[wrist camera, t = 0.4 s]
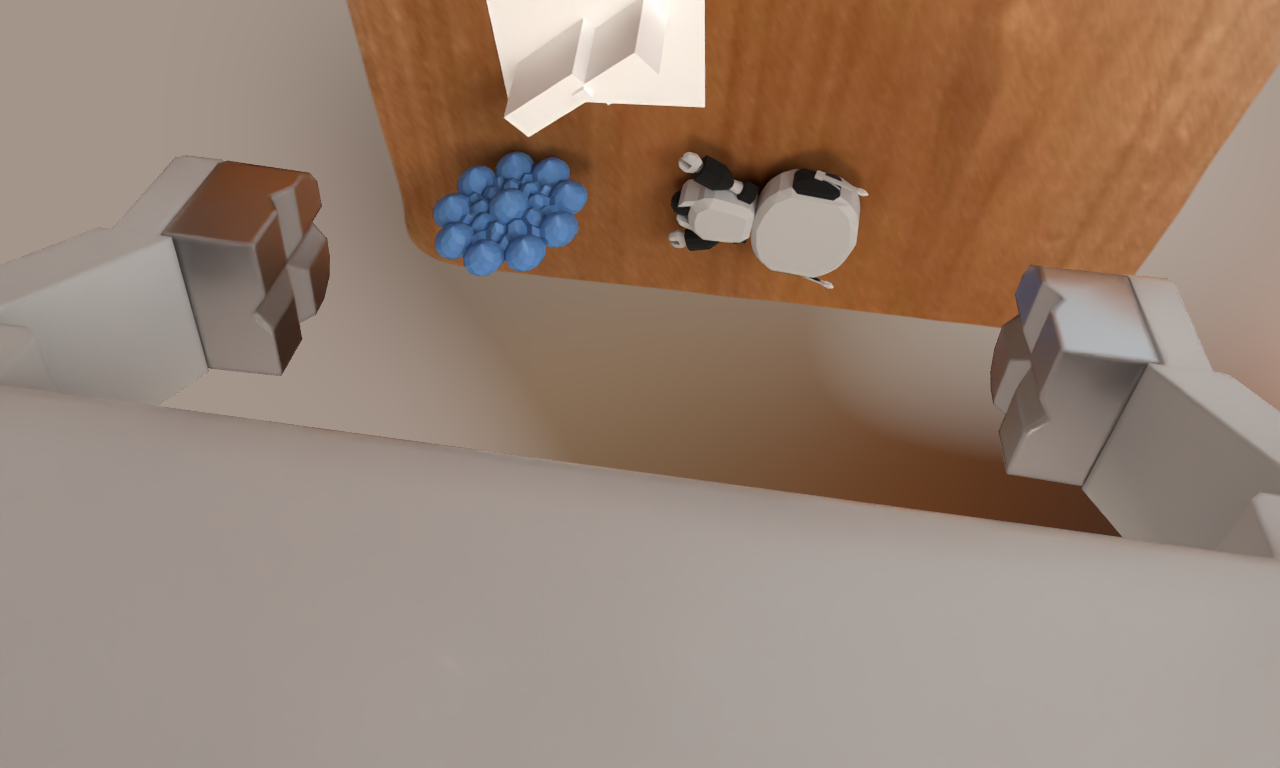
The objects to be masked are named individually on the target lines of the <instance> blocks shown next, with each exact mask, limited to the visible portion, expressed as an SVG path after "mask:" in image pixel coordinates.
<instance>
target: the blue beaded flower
mask: <svg viewBox="0 0 1280 768" xmlns="http://www.w3.org/2000/svg"><path fill="white" fill-rule="evenodd" d="M569 177H570V168H569V167H568V165H567V164H566V162H565V161H563V160H561V159H559V158H557V157H550V158H546V159H544V160H542V161H540V162H539V163H538V164H536V165H535V167H534V162H533V160H532V159H531V157H530V156H529V155H528V154H525V153H523V152H518V151H514V152H511V153H508V154H506V155H505V156H504V157H502V158H501V159H500V160H499V162H498V163H497V165H496V167H495V174H494V172H493V171H492V169H490V168H488V167H486V166H484V165H476V166H472V167H470V168H468V169H466V170H465V171H464V172H463V173H461V175H460V177H459V179H458V180H457V190H458V191H459V193H451V194H447V195H446V196H444V197H442V198H441V199H440V200H439V201H437V203H436V205H435V207H434V208H433V218H434V220H435V221H436V223H437V224H438V226H440V227H442V228H443V229H441V230H440V231H439V233H438V235H437V237H436V238H435V248H436V250H437V251H438V253H439V254H440V256H442V257H444V258H447V259H457V258H461V257H463V256H464V266H465V268H466V269H467V270H468V272H469V273H470V274H473V275H475V276H485V275H490V274H491V273H493V272H494V271H496V270H497V269H499V268H500V267H501V265H502V263H503V261H504V260H505V261H506V263H507V264H508V265H509V267H510V268H511V269H513V270H515V271H518V272H520V271H529V270H532V269H533V268H534V267H536V266H537V265H539V264H540V263H541V262H542V260H543V258H544V257H545V250H546V246H545V245H547V246H549V247H551V248H552V247H562V246H565V245H566V244H567V243H569V242H570V241H572V240H573V239H574V237H575V236H576V234H577V232H578V222H577V220H576V219H575V217H574V216H573V215H574V214H575V213H577V212H578V211H579V210H581V209H582V208H583V207H584V205H585V203H586V202H587V191H586V189H585V188H584V186H583V185H582V184H580V183H578V182H576V181H568V179H569Z"/></svg>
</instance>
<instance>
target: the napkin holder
mask: <svg viewBox="0 0 1280 768" xmlns="http://www.w3.org/2000/svg"><path fill="white" fill-rule="evenodd" d="M486 1H487V6H488V10H489V15H490V19H491V24H492V28H493V33H494V37H495V42H496V46H497V51H498V55H499V60H500V64H501V69H502V74H503V78H504V83H505V87H506V92H507V96H508V102H507V106H506V110H505V114H504V118H505V119H506V120H507V121H509V122H510V123H511V124H512V125H514V126H515V127H516V128H517V129H519V130H520V131H521V132H522V133H524V134H525V135H526V136H528V137H529V136H531V135H533V134H534V133H536V132H538V131H539V130H541V129H542V128H544V127H546V126H547V125H549V124H551V123H552V122H554V121H555V120H557V119H559V118H560V117H562V116H564V115H565V114H567V113H569V112H570V111H572V110H573V109H575V108H577V107H578V106H580V105H582V104H583V103H585V102H598V103H606V104H608V105H610V104H612V103H620V104H642V105H665V106H687V107H705V0H486Z"/></svg>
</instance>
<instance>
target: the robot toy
mask: <svg viewBox="0 0 1280 768" xmlns="http://www.w3.org/2000/svg"><path fill="white" fill-rule="evenodd" d="M678 163H679V167H680V168H681V169H682V170H683V171H685V172H689V173H694V179H690V180H688V181H687V182H686V183H684V184H683V187H682V190H679V191H677V192H676V193H675V194H674V195H673V197H672V199H671V207H672V208H673V210H674V212H676V213H677V218H676V219H677V221H678V222H679V224H680V225H681V226H683V227H685V228H686V230H685V232H684V231H681V230H675V231H671V232H670V234H669V238H668V239H669V240H670V241H671V244H672V245H673V246H674V247H677V248H683V247H685V246H687V247H688V249H689V250H690V251H695V250H706V249H710V248H712V247H713V246H715V245H716V244H718V243H719V242H733V243H734V244H737V243H746V240H747V239H748V238H749V236H750V232H751V244H752V249H753V252H754V254H755V255H756V257H757V258H758V259H759V261H760V262H762V263H763V264H764V265H765V266H767V267H768V268H769V269H770V270H774V271H778V272H783V273H788V274H793V275H798V276H802V277H805V278H807V279H809V280H812V281H814V282H817V283H819V284H821V285H823V286H824V287H826V288H834V287H833V286H832V284H831V283H829V282H827V281H822V280H820V279H818V278H815V277H817V276H821V275H824V274H827V273H829V272H831V271H833V270H835V269H836V268H838V267H839V266H840V265H841V264H842V263H843V262H844V261H845V260H846V258H847V257H848V255H849V254H850V252H851V251H852V250H853V248H854V247H855V245H856V240H857V232H858V224H859V215H860V200H859V196H858V195H861V196H868V193H867V192H866V190H864V189H861V188H856V187H854V186H852V185H851V184H849V183H848V182H847V181H845V180H844V179H843V178H842V177H838V176H837V175H834V174H828V173H824V172H822V171H819V170H818V171H812V170H807V169H793V170H790V171H787V172H783V173H781V174H779V175H777V176H776V177H774V178H772V179H771V180H770V181H769V182H768V183H767V185H766V186H765V187H764V189H763V190H762V192H761V194H760V196H759V198H758V186H756V185H754V184H752V183H750V182H749V181H746V182H744V183H743V182H740V181H737V180H734V178H733V176H732V175H731V173H730V171H729V170H728V168H727V166H726V165H724V164H723V163H721V162H719V161H717V160H715V159H713V158H711V157H710V156H708V155H707V156H705V157H704V158H703V159H702V160H701V159H700V157H699V156H698V155H697V154H695V153H692V152H687V153H685V154H684V155H683V157H681V158H680V159H679V161H678ZM757 198H758V200H757Z"/></svg>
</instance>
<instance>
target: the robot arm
mask: <svg viewBox="0 0 1280 768" xmlns="http://www.w3.org/2000/svg"><path fill="white" fill-rule="evenodd" d="M321 207H322V204H321V199H320V194H319V189H318V184H317V181H316V180H315V178H314V177H313V176H312V175H311V174H310V173H308V172H301V171H294V170H287V169H280V168H273V167H266V166H260V165H253V164H246V163H239V162H233V161H223V160H221V159H212V158H204V157H194V156H181V157H176V158H174V159H173V160H172V162H171V163H170V164H169V165H168V166H167V167H166V168H165V169H164V171H163V172H162V173H161V174H160V175H159V176H158V177H157V179H156V180H155V181H154V182H153V183H152V184H151V185H150V186H149V188H148V189H147V190H146V191H145V192H144V193H143V194H142V196H141V197H140V198H139V199H138V200H137V201H136V202H135V203H134V205H133V206H132V207H131V208H130V209H129V210H128V211H127V213H126V214H125V215H124V216H123V217H122V218H121V219H120V220H119V222H118V223H117V224H116V225H115V226H114V227H113V228H112V229H108V228H100V227H99V228H96V229H93V230H91V231H88V232H85V233H83V234H80V235H78V236H75V237H72V238H70V239H67V240H64V241H62V242H59V243H57V244H54V245H51V246H49V247H46V248H43V249H41V250H38V251H36V252H33V253H30V254H28V255H25V256H22V257H20V258H17V259H15V260H12V261H9V262H7V263H4V264H1V265H0V768H1280V412H1279V411H1278V410H1276V409H1275V408H1274V407H1272V406H1271V405H1270V404H1268V403H1267V402H1265V401H1264V400H1263V399H1261V398H1260V397H1259V396H1257V395H1256V394H1255V393H1253V392H1252V391H1251V390H1249V389H1248V388H1247V387H1245V386H1244V385H1242V384H1241V383H1240V382H1238V381H1237V380H1236V379H1234V378H1233V377H1232V376H1230V375H1229V374H1227V373H1220V372H1214V371H1213V369H1212V367H1211V365H1210V362H1209V360H1208V358H1207V356H1206V353H1205V351H1204V349H1203V347H1202V344H1201V342H1200V340H1199V337H1198V335H1197V333H1196V331H1195V328H1194V326H1193V324H1192V321H1191V319H1190V317H1189V315H1188V313H1187V310H1186V308H1185V306H1184V303H1183V301H1182V299H1181V296H1180V294H1179V292H1178V290H1177V287H1176V285H1175V284H1174V283H1173V282H1172V281H1170V280H1169V279H1167V278H1158V277H1147V276H1136V275H1125V274H1121V275H1119V274H1110V273H1100V272H1091V271H1081V270H1072V269H1062V268H1053V267H1043V266H1034V265H1030V266H1029V267H1028V269H1027V270H1026V272H1025V273H1024V274H1023V276H1022V278H1021V281H1020V283H1019V285H1018V288H1017V290H1016V293H1015V298H1016V302H1017V307H1018V311H1019V315H1017V316H1016V317H1014V318H1013V319H1011V320H1010V321H1008V322H1007V323H1006V324H1004V325H1003V326H1002V329H1001V332H1000V334H999V337H998V340H997V343H996V346H995V349H994V354H993V360H992V366H991V371H990V375H991V393H992V400H993V404H994V405H995V406H996V407H997V408H998V409H999V410H1000V411H1001V412H1002V413H1003V414H1004V415H1005V417H1004V419H1003V422H1002V424H1001V427H1000V429H999V437H1000V442H1001V447H1002V452H1003V457H1004V462H1005V468H1006V472H1007V474H1012V475H1018V476H1025V477H1030V478H1036V479H1043V480H1049V481H1055V482H1061V483H1068V484H1074V485H1081V486H1083V488H1082V490H1083V491H1084V492H1085V493H1086V494H1087V495H1088V497H1089V498H1090V499H1091V500H1092V501H1093V503H1094V504H1095V505H1096V506H1097V507H1098V509H1099V510H1100V511H1101V512H1102V513H1103V514H1104V516H1105V517H1106V518H1107V519H1108V520H1109V521H1110V523H1111V524H1112V525H1113V526H1114V527H1115V528H1116V530H1117V531H1118V532H1119V533H1120V534H1121V536H1122V537H1123V538H1121V537H1114V536H1107V535H1100V534H1092V533H1085V532H1078V531H1071V530H1070V531H1069V530H1063V529H1056V528H1048V527H1040V526H1034V525H1027V524H1019V523H1012V522H1004V521H997V520H990V519H982V518H975V517H967V516H960V515H953V514H945V513H938V512H931V511H923V510H916V509H909V508H902V507H894V506H887V505H880V504H872V503H865V502H858V501H850V500H843V499H835V498H828V497H821V496H813V495H806V494H799V493H791V492H784V491H776V490H769V489H762V488H755V487H747V486H740V485H733V484H725V483H718V482H710V481H703V480H695V479H688V478H681V477H674V476H666V475H658V474H652V473H645V472H637V471H630V470H622V469H615V468H608V467H601V466H593V465H586V464H578V463H571V462H563V461H557V460H549V459H542V458H535V457H526V456H519V455H513V454H505V453H497V452H490V451H483V450H476V449H469V448H461V447H454V446H447V445H439V444H432V443H425V442H417V441H409V440H402V439H395V438H388V437H381V436H373V435H366V434H359V433H351V432H344V431H337V430H329V429H322V428H315V427H307V426H299V425H293V424H285V423H278V422H271V421H263V420H256V419H248V418H241V417H234V416H227V415H219V414H212V413H204V412H198V411H190V410H182V409H176V408H168V407H161V406H158V405H160V404H161V403H163V402H164V401H165V400H167V399H169V398H170V397H172V396H173V395H175V394H176V393H178V392H179V391H181V390H182V389H184V388H185V387H187V386H188V385H190V384H191V383H193V382H194V381H196V380H197V379H199V378H200V377H202V376H203V375H205V374H206V373H208V372H209V370H208V368H211V369H220V370H229V371H238V372H247V373H257V374H266V375H276V376H281V375H282V374H283V372H284V370H285V368H286V367H287V365H288V363H289V361H290V360H291V358H292V356H293V354H294V353H295V351H296V349H297V347H298V346H299V344H300V342H301V340H302V336H301V330H300V324H299V323H301V322H303V321H305V320H307V319H309V318H310V317H312V316H314V315H316V313H317V311H318V310H319V308H320V306H321V304H322V302H323V300H324V297H325V293H326V288H327V284H328V280H329V274H330V268H329V267H330V266H329V265H330V255H329V248H328V242H327V238H326V237H325V236H324V234H323V233H322V232H321V231H320V230H319V229H318V228H317V226H316V225H315V224H314V223H313V220H314V218H315V217H316V215H317V213H318V212H319V210H320V208H321Z"/></svg>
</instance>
